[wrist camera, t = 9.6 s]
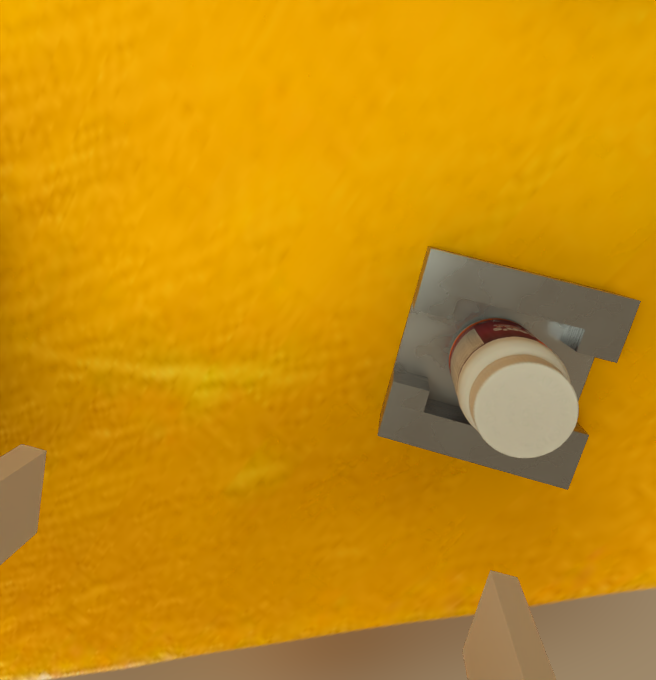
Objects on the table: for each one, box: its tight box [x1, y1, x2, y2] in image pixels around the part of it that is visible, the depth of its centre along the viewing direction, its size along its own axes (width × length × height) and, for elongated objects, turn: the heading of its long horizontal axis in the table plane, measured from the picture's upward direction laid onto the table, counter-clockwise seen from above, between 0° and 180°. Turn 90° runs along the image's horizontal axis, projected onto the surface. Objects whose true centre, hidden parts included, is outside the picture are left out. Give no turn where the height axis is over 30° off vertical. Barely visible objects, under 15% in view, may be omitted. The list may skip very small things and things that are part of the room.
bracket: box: [378, 246, 641, 490], centre depth 36 cm, size 13×13×4 cm
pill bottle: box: [449, 318, 579, 458], centre depth 32 cm, size 6×6×11 cm
